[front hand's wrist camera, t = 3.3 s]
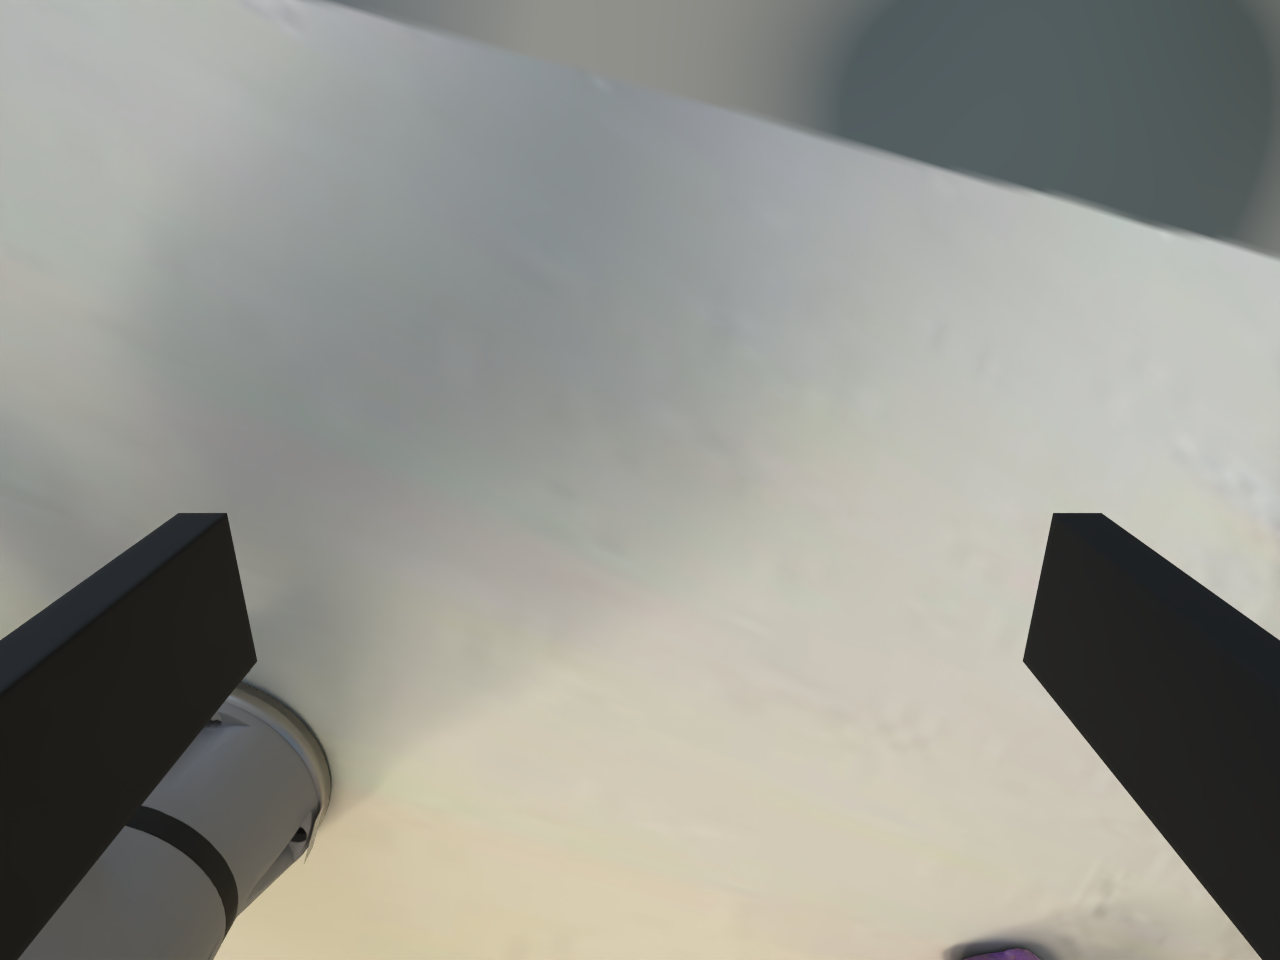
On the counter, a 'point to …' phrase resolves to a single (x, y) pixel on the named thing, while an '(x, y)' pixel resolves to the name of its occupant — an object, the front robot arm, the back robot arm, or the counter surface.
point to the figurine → (1007, 955)
